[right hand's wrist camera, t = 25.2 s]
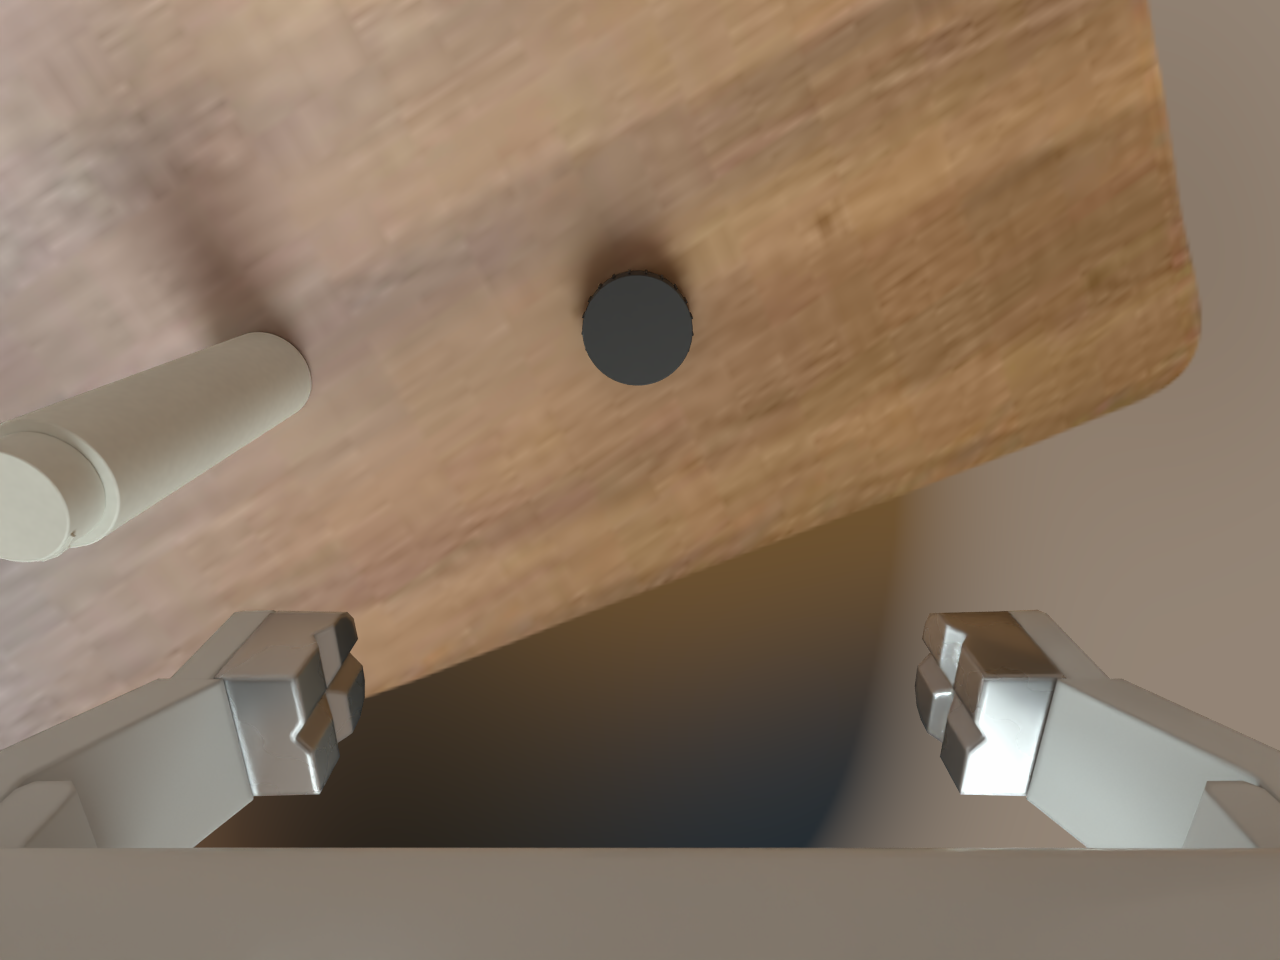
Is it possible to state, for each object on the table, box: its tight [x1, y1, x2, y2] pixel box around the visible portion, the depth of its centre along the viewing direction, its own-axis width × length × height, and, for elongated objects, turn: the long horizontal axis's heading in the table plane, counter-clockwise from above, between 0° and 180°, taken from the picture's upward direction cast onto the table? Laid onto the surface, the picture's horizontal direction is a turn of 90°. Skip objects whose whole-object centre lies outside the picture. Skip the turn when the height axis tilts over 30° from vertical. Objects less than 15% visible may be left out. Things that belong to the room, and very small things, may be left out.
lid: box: [582, 269, 693, 385], centre depth 35 cm, size 5×5×2 cm
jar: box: [0, 332, 311, 562], centre depth 29 cm, size 4×4×16 cm
